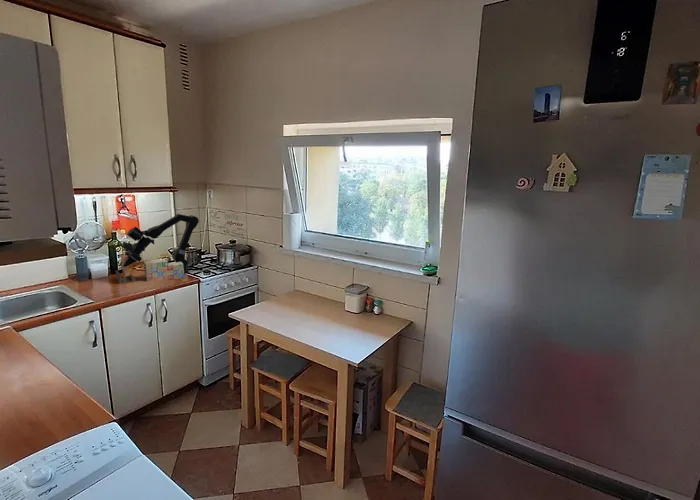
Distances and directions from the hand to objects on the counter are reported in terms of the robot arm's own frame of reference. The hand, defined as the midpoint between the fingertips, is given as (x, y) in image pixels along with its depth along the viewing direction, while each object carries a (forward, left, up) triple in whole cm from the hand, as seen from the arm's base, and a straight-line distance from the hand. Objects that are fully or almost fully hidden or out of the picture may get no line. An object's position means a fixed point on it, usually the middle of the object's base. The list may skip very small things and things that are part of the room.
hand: (122, 265), depth 224 cm
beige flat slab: (-1, +1, -6) cm, 6 cm away
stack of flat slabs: (-1, +1, -10) cm, 10 cm away
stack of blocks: (-17, +14, -11) cm, 25 cm away
